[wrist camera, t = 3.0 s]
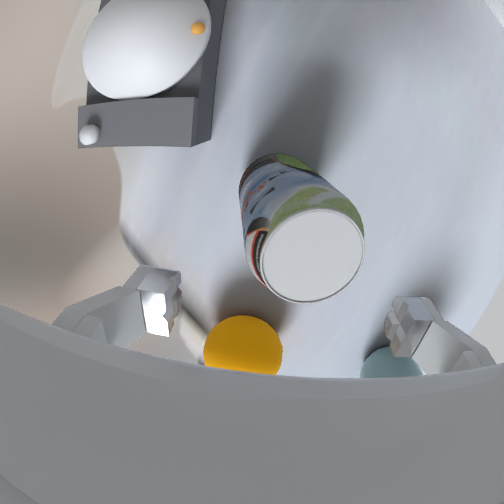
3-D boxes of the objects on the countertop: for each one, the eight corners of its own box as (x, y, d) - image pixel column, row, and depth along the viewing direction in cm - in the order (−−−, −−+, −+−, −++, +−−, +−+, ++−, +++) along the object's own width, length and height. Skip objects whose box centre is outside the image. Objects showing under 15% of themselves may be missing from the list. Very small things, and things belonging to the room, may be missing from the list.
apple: (295, 320, 29) (298, 376, 22) (262, 362, 32) (258, 413, 26) (226, 291, 28) (212, 346, 21) (201, 338, 31) (186, 389, 24)
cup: (369, 334, 29) (390, 405, 20) (420, 337, 29) (447, 399, 20) (345, 375, 33) (356, 439, 24) (393, 376, 33) (409, 434, 24)
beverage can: (239, 152, 21) (202, 189, 11) (331, 153, 21) (387, 193, 10) (242, 224, 24) (216, 315, 13) (327, 225, 23) (363, 316, 13)
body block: (125, 10, 15) (87, -9, 9) (229, -3, 15) (214, -36, 9) (112, 139, 21) (68, 150, 16) (214, 139, 21) (191, 148, 15)
